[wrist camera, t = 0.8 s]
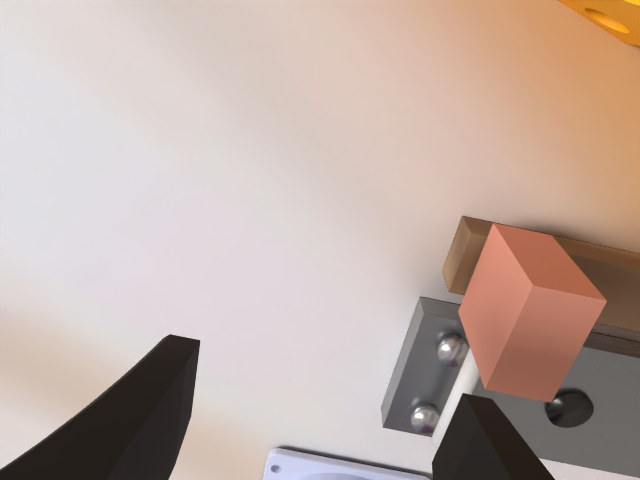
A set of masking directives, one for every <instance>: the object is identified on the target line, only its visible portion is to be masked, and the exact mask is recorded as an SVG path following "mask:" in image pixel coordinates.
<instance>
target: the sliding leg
mask: <svg viewBox="0 0 640 480" xmlns="http://www.w3.org/2000/svg"><path fill="white" fill-rule="evenodd" d="M606 302H607V300H606V299H605V298H604V297H603V295H602V294H601V293H600V292H599V291H598V290H597V288H596V287H595V286H594V285H593V284H592V283H591V281H590V280H589V279H588V278H587V277H586V275H585V274H584V273H583V272H582V271H581V270H580V268H579V267H578V266H577V265H576V264H575V263H574V261H573V260H572V259H571V258H570V257H569V256H568V254H567V253H566V252H565V251H564V250H563V248H562V247H561V246H560V245H559V244H558V243H557V241H556V240H555V239H554V238H553V237H552V236H551V235H547V234H543V233H538V232H533V231H529V230H524V229H519V228H515V227H510V226H505V225H501V224H496V223H493V225H492V227H491V230H490V232H489V235H488V237H487V240H486V242H485V245H484V247H483V250H482V252H481V255H480V258H479V260H478V263H477V265H476V268H475V270H474V273H473V275H472V278H471V280H470V283H469V285H468V288H467V290H466V293H465V295H464V298H463V300H462V303H461V305H460V308H459V310H458V313H459V316H460V319H461V322H462V324H463V327H464V330H465V333H466V336H467V339H468V342H469V345H470V349H469V351H468V353H467V356H466V358H465V360H464V363H463V365H462V367H461V370H460V372H459V374H458V377H457V379H456V381H455V384H454V386H453V388H452V391H451V393H450V396H449V398H448V400H447V403H446V405H445V407H444V410H443V412H442V414H441V417H440V419H439V421H438V424H437V426H436V428H435V431H434V433H433V435H432V438H431V442H432V444H433V445H434V446H435V447H436V448H439V446H440V443H441V441H442V439H443V437H444V434H445V432H446V430H447V427H448V425H449V423H450V421H451V418H452V416H453V414H454V412H455V409H456V407H457V405H458V402H459V400H460V398H461V396H462V393H466V394H471V395H472V393H473V390H474V388H475V386H476V384H477V381H478V379H479V377H481V380H482V383H483V385H484V388H485V390H490V391H495V392H500V393H505V394H510V395H515V396H520V397H525V398H530V399H535V400H540V401H545V402H550V403H551V402H552V400H553V398H554V397H555V395H556V393H557V391H558V389H559V388H560V386H561V384H562V382H563V380H564V378H565V377H566V375H567V373H568V371H569V369H570V368H571V366H572V364H573V362H574V360H575V359H576V357H577V355H578V353H579V351H580V349H581V348H582V346H583V344H584V342H585V340H586V339H587V337H588V335H589V333H590V331H591V329H592V328H593V326H594V324H595V322H596V320H597V319H598V317H599V315H600V313H601V311H602V309H603V308H604V306H605V304H606Z"/></svg>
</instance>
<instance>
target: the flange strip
mask: <svg viewBox="0 0 640 480" xmlns="http://www.w3.org/2000/svg"><path fill="white" fill-rule="evenodd" d="M459 308H460V305H457V304H452V303H447V302H443V301H438V300H433V299H428V298H423V297H420V298H419V300H418V303H417V306H416V309H415V312H414V315H413V318H412V320H411V323H410V326H409V329H408V332H407V335H406V338H405V341H404V343H403V346H402V349H401V352H400V355H399V358H398V361H397V363H396V366H395V369H394V372H393V375H392V378H391V381H390V383H389V386H388V389H387V392H386V395H385V398H384V401H383V403H382V406H381V410H382V423H383V428H388V429H393V430H398V431H403V432H408V433H413V434H419V435H424V436H429V437H432V435H433V433H434V431H435V428H436V426H437V424H438V421H439V419H440V417H441V414H442V412H443V410H444V407H445V405H446V403H447V400H448V398H449V396H450V393H451V391H452V388H453V386H454V384H455V381H456V379H457V377H458V374H459V372H460V370H461V367H462V365H463V363H464V360H465V358H466V356H467V353H468V351H469V349H470V345H469V342H468V339H467V336H466V333H465V330H464V327H463V324H462V322H461V319H460V316H459V313H458V310H459ZM472 395H476V396H481V397H486V398H491V399H493V401H494V402H495V403H496V404H497V405H498V407H499V408H500V409H501V410H502V412H503V413H504V414H505V416H506V417H507V418H508V419H509V421H510V422H511V423H512V425H513V426H514V427H515V429H516V430H517V431H518V432H519V434H520V435H521V436H522V438H523V439H524V440H525V442H526V443H527V444H528V446H529V447H530V448H531V449H532V451H533V452H534V453H535V455H536V456H537V457H538V458H541V459H546V460H551V461H556V462H561V463H567V464H572V465H577V466H582V467H587V468H592V469H597V470H602V471H607V472H612V473H618V474H623V475H628V476H633V477H638V478H640V342H636V341H631V340H626V339H621V338H616V337H611V336H607V335H602V334H597V333H592V332H590V333H589V335H588V337H587V339H586V340H585V342H584V344H583V346H582V348H581V349H580V351H579V353H578V355H577V357H576V359H575V360H574V362H573V364H572V366H571V368H570V369H569V371H568V373H567V375H566V377H565V378H564V380H563V382H562V384H561V386H560V388H559V389H558V391H557V393H556V395H555V397H554V398H553V400H552V402H551V403H550V402H545V401H540V400H535V399H530V398H525V397H520V396H515V395H510V394H505V393H500V392H495V391H490V390H485V388H484V385H483V383H482V380H481V377H479V379H478V381H477V384H476V386H475V388H474V390H473V393H472Z"/></svg>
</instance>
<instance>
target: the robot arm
mask: <svg viewBox="0 0 640 480" xmlns="http://www.w3.org/2000/svg"><path fill="white" fill-rule="evenodd" d="M199 347H200V340H196V339H191V338H186V337H181V336H176V335H171V334H170V335H168V336H166V337H164V338H163V339H162V340H161V341H160V342H159V343H158V344H157V345H156V346H155V347H154V348H153V349H152V350H151V351H150V352H149V353H148V354H147V355H146V356H145V357H143V358H142V359H141V360H140V361H139V362H138V363H137V364H136V365H135V366H134V367H133V368H131V369H130V370H129V371H128V372H127V373H126V374H125V375H124V376H122V377H121V378H120V379H119V380H118V381H117V382H115V383H114V384H113V385H112V386H111V387H110V388H108V389H107V390H106V391H105V392H104V393H102V394H101V395H100V396H99V397H98V398H96V399H95V400H94V401H93V402H92V403H90V404H89V405H88V406H87V407H86V408H84V409H83V410H82V411H80V412H79V413H78V414H77V415H75V416H74V417H73V418H71V419H70V420H69V421H67V422H66V423H65V424H63V425H62V426H61V427H59V428H58V429H57V430H55V431H54V432H53V433H52V434H50V435H49V436H48V437H46V438H45V439H44V440H42V441H41V442H39V443H38V444H37V445H35V446H34V447H32V448H31V449H30V450H28V451H27V452H25V453H24V454H23V455H21V456H20V457H18V458H17V459H15V460H14V461H12V462H11V463H9V464H8V465H6V466H5V467H3V468H2V469H0V480H168V479H169V477H170V475H171V473H172V470H173V468H174V466H175V463H176V460H177V457H178V454H179V451H180V448H181V445H182V442H183V439H184V436H185V433H186V430H187V427H188V424H189V421H190V418H191V412H192V404H193V396H194V388H195V380H196V372H197V364H198V355H199ZM275 465H278V466H275ZM432 470H433V480H555V479H554V478H553V476H552V475H551V474H550V473H549V471H548V470H547V469H546V467H545V466H544V465H543V464H542V462H541V461H540V460H539V459H538V457H537V456H536V455H535V453H534V452H533V451H532V449H531V448H530V447H529V446H528V444H527V443H526V442H525V440H524V439H523V438H522V436H521V435H520V434H519V432H518V431H517V430H516V429H515V427H514V426H513V425H512V423H511V422H510V421H509V419H508V418H507V417H506V416H505V414H504V413H503V412H502V410H501V409H500V408H499V407H498V405H497V404H496V403H495V402H494V401H493V399H491V398H486V397H481V396H476V395H471V394H466V393H462V396H461V398H460V400H459V402H458V405H457V407H456V409H455V412H454V414H453V416H452V418H451V421H450V423H449V425H448V427H447V430H446V432H445V434H444V437H443V439H442V441H441V443H440V446H439V448H438V450H437V452H436V455H435V457H434V459H433V462H432ZM263 480H430V479H429V478H428V477H425V476H421V475H416V474H411V473H405V472H400V471H395V470H390V469H385V468H380V467H374V466H369V465H364V464H359V463H354V462H348V461H343V460H338V459H333V458H328V457H322V456H317V455H312V454H307V453H302V452H296V451H291V450H286V449H281V448H276V449H272V450H271V451H270V452H269V454H268V458H267V463H266V467H265V471H264V476H263Z"/></svg>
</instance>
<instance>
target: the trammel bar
mask: <svg viewBox="0 0 640 480" xmlns="http://www.w3.org/2000/svg"><path fill="white" fill-rule="evenodd" d="M496 224H498V223H496ZM492 225H493V222H488V221H484V220H479V219H474V218H470V217H465V216H462V218H461V221H460V224H459V226H458V229H457V232H456V235H455V237H454V240H453V243H452V246H451V248H450V251H449V254H448V257H447V259H446V262H445V265H444V268H443V270H442V273H443V276H444V279H445V282H446V285H447V288H448V291H449V292H451V293H456V294H460V295H465V293H466V290H467V288H468V285H469V283H470V280H471V278H472V275H473V273H474V270H475V268H476V265H477V263H478V260H479V258H480V255H481V252H482V250H483V247H484V245H485V242H486V240H487V237H488V235H489V232H490V230H491V227H492ZM501 225H502V224H501ZM505 226H507V225H505ZM510 227H512V226H510ZM515 228H516V227H515ZM519 229H521V228H519ZM524 230H526V229H524ZM529 231H530V230H529ZM533 232H535V231H533ZM538 233H540V232H538ZM543 234H544V233H543ZM547 235H549V234H547ZM551 236H552V237H553V238H554V239H555V240H556V241H557V243H558V244H559V245H560V246H561V247H562V248H563V250H564V251H565V252H566V253H567V254H568V256H569V257H570V258H571V259H572V260H573V261H574V263H575V264H576V265H577V266H578V267H579V268H580V270H581V271H582V272H583V273H584V274H585V275H586V277H587V278H588V279H589V280H590V281H591V283H592V284H593V285H594V286H595V287H596V288H597V290H598V291H599V292H600V293H601V294H602V295H603V297H604V298H605V299H606V300H607V302H606V304H605V306H604V308H603V309H602V311H601V313H600V315H599V317H598V319H597V320H596V322H595V323H600V324H605V325H609V326H614V327H619V328H624V329H629V330H633V331H638V332H640V254H637V253H633V252H628V251H623V250H619V249H614V248H609V247H605V246H600V245H595V244H591V243H586V242H582V241H577V240H572V239H568V238H563V237H558V236H554V235H551Z"/></svg>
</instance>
